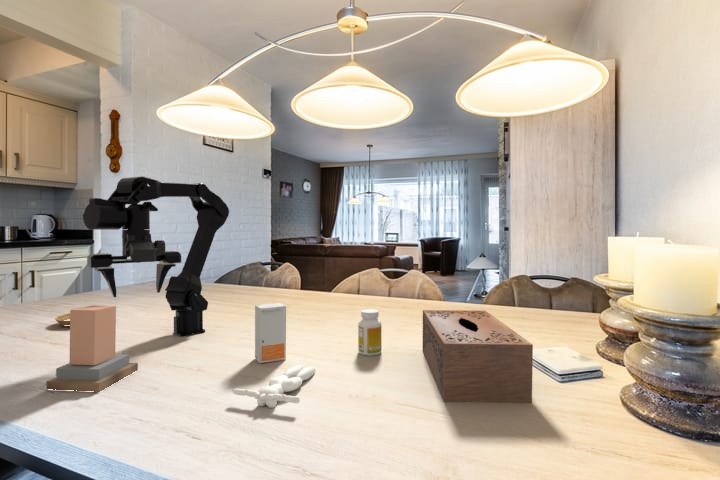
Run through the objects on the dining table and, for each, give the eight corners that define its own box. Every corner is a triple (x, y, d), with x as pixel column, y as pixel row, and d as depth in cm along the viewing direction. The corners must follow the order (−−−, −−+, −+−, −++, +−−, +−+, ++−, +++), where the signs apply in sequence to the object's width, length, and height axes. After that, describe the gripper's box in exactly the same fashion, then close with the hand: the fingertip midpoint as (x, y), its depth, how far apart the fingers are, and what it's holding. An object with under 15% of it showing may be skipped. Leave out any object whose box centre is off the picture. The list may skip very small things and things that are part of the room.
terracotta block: (91, 356, 74) (92, 305, 74) (115, 357, 73) (116, 306, 73) (69, 364, 69) (70, 309, 69) (94, 365, 68) (95, 310, 68)
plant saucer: (41, 328, 109) (41, 319, 109) (85, 316, 124) (85, 309, 124) (86, 330, 107) (86, 321, 107) (125, 318, 122) (125, 310, 122)
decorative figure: (281, 360, 78) (227, 384, 60) (336, 366, 74) (295, 393, 57) (280, 377, 77) (226, 406, 60) (335, 384, 74) (294, 417, 57)
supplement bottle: (384, 350, 88) (384, 309, 88) (376, 357, 83) (376, 314, 83) (364, 347, 91) (364, 307, 90) (354, 354, 86) (354, 312, 85)
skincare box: (259, 364, 79) (258, 308, 79) (254, 358, 83) (254, 304, 83) (287, 360, 82) (286, 305, 82) (281, 354, 86) (281, 302, 85)
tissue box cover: (422, 352, 88) (422, 310, 87) (484, 353, 87) (485, 310, 87) (443, 403, 62) (444, 343, 62) (531, 404, 61) (532, 344, 61)
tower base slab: (91, 373, 76) (91, 361, 76) (137, 375, 76) (137, 362, 76) (46, 395, 67) (46, 381, 66) (99, 397, 66) (99, 383, 66)
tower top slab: (90, 363, 75) (90, 353, 75) (129, 364, 75) (129, 354, 75) (56, 379, 67) (56, 368, 67) (99, 380, 67) (98, 369, 67)
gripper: (95, 229, 77) (96, 305, 77) (188, 229, 90) (189, 294, 90) (86, 229, 85) (87, 298, 85) (173, 229, 98) (174, 289, 98)
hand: (137, 294), depth 90 cm, fingers open, 9 cm apart
